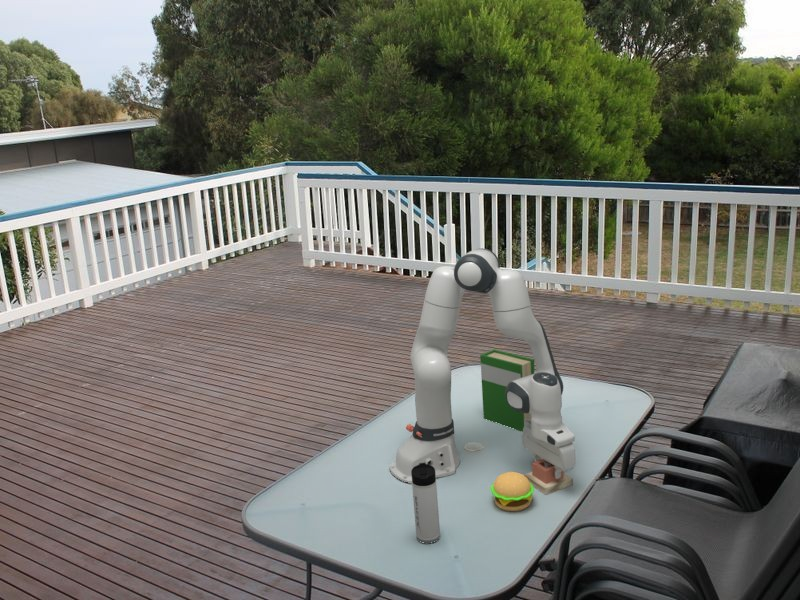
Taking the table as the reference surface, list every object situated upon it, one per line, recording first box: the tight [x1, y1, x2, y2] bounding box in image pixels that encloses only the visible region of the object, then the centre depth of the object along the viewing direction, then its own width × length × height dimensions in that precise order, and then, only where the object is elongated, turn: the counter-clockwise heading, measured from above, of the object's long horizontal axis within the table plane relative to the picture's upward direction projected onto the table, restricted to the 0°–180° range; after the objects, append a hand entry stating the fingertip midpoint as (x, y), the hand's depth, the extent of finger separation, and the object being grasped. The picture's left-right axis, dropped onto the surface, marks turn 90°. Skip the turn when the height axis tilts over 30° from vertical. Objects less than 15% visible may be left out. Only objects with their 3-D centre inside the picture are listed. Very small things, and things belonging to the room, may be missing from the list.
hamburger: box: [489, 471, 535, 512], centre depth 207 cm, size 12×12×9 cm
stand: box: [523, 461, 574, 496], centre depth 216 cm, size 10×10×6 cm
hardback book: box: [479, 349, 536, 433], centre depth 256 cm, size 18×7×24 cm, turn 42°
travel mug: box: [411, 463, 441, 544], centre depth 192 cm, size 6×7×20 cm
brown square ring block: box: [531, 459, 565, 484], centre depth 216 cm, size 6×6×4 cm
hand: (548, 472), depth 216 cm, fingers closed on brown square ring block, 6 cm apart
